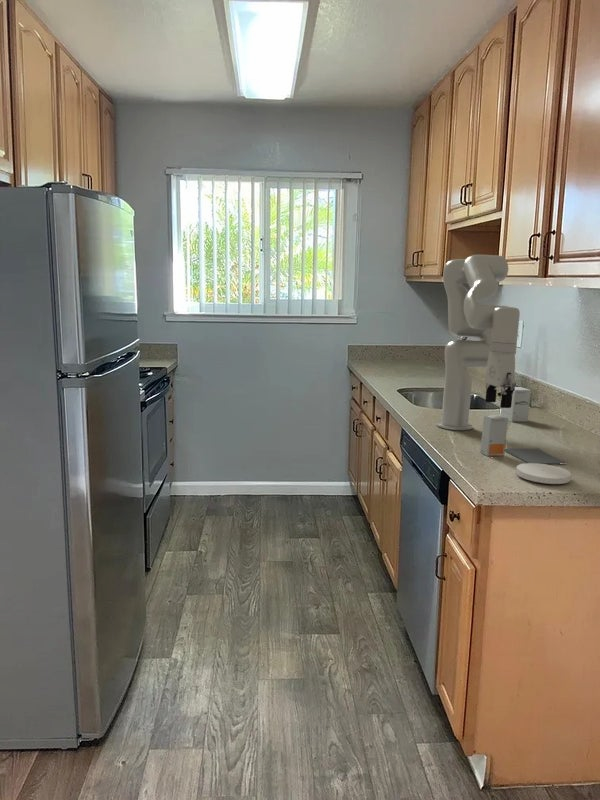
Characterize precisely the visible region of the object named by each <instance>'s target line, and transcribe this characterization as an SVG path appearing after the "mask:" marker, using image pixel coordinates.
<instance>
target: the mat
mask: <svg viewBox="0 0 600 800" xmlns="http://www.w3.org/2000/svg"><path fill="white" fill-rule="evenodd" d="M504 452H506V453H507V454H509V455H512V456H513V457H515V458H516V459H518V460H520V461H521V462H523V461H524V462H523V463H525V462H526V463H539V464H556V465H561V464H560V463H567V462H566V461H564V460H562V459H560V458H558V457H555V456H554V455H552V454H550V453H548V452H546V451H544V450H542V449H540V448H537V447H536V448H531V447H530V448H519V447H518V448H504Z"/></svg>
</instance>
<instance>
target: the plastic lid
mask: <svg viewBox="0 0 600 800" xmlns="http://www.w3.org/2000/svg"><path fill="white" fill-rule="evenodd" d="M515 469H516V470H515V474H516V475H517V476H519V477H520V478H522V479H525V480H528V481H531V482H534V483H541V484H547V485H548V484H550V485H561V484H567V483H570V482H571V476H572V473H571V472H570V471H568V469H565V468H563V467H559V466H556V465H547V464H539V463H525V462H523V463H520V464H518V465H516V468H515Z"/></svg>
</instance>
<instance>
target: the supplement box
mask: <svg viewBox="0 0 600 800" xmlns="http://www.w3.org/2000/svg"><path fill="white" fill-rule="evenodd" d="M506 389H507V388H506ZM531 393H532V390H531V389H530V388H529V389H528V388H525V387H520V386H515V390H514V391H513V395H512V404H511V408H501V414H500V415H502V416H504V417H507V418H508V422H510V423H515V422H524V423H525V422H528V418H529V410H530V409H529V408H530V404H531V403H530V402H531V401H530V400H531Z"/></svg>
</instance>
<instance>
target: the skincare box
mask: <svg viewBox="0 0 600 800" xmlns="http://www.w3.org/2000/svg"><path fill="white" fill-rule="evenodd" d="M508 422H509V421H508V418H507V417H504V416H502V415H501V414H488V415H486V414H485V415H483V421H482V433H481V439H480V440H481V441H480V448H479V453H481V454H483V455H485V456H487V457H490V456H492V457H493V456H503V457H504V454H505V451H504V449H506V448H505V447H506V446H505V445H506V437H507V431H508V430H507V429H508Z"/></svg>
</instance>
